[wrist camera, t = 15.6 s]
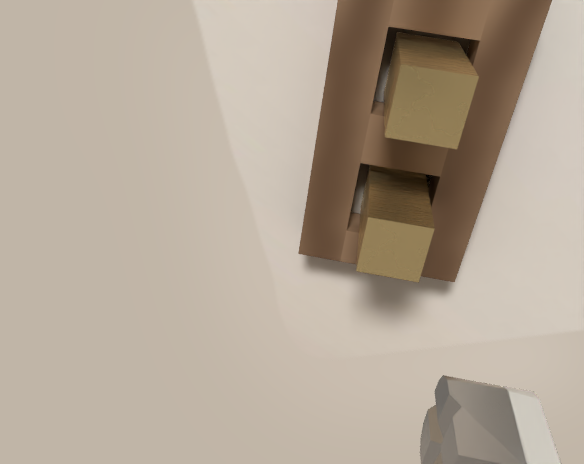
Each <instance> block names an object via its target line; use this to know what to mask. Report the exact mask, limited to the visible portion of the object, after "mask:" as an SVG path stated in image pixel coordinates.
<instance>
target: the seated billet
mask: <svg viewBox="0 0 584 464" xmlns="http://www.w3.org/2000/svg"><path fill="white" fill-rule="evenodd" d="M478 78H479V76H478V74H477V73H476V71H475V69H474V68H473V66H472V64H471V63H470V61H469V59H468V58H467V56H466V54H465V52H464V51H463V49H462V47H461V46H460V44H459V42H458V41H452V40H445V39H439V38H433V37H426V36H420V35H414V34H407V33H401V32H397V34H396V38H395V43H394V48H393V52H392V57H391V62H390V66H389V71H388V76H387V80H386V85H385V90H384V123H385V137H387V138H393V139H399V140H405V141H411V142H417V143H422V144H428V145H434V146H440V147H446V148H452V149H457V148H458V145H459V141H460V138H461V135H462V131H463V128H464V125H465V121H466V118H467V115H468V111H469V108H470V105H471V102H472V98H473V95H474V92H475V88H476V85H477V82H478Z"/></svg>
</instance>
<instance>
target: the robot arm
mask: <svg viewBox="0 0 584 464" xmlns="http://www.w3.org/2000/svg"><path fill="white" fill-rule="evenodd" d="M435 398H436V405H435V406H433V407H431V408H430V409H428V411H427V414H426V417H425V420H424V423H423V429H422V434H421V446H420V456H421V464H561V461H560V459H559V456H558V452H557V449H556V447H555V444H554V441H553V438H552V435H551V432H550V429H549V426H548V423H547V420H546V417H545V414H544V411H543V408H542V405H541V402H540V399H539V397H538V396H537V394H536V393H535V392H533V391H527V390H522V389H516V388H510V387H504V386H503V387H501V386H497V385H492V384H487V383H481V382H476V381H470V380H465V379H460V378H454V377H449V376H444V375H443V376H442V377H441V379H440V380H439V382H438V384H437V387H436V389H435Z"/></svg>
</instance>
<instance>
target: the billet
mask: <svg viewBox="0 0 584 464" xmlns="http://www.w3.org/2000/svg"><path fill="white" fill-rule="evenodd" d="M434 229H435V228H434V222H433V216H432V210H431V204H430V198H429V192H428V186H427V180H426V174H422V173H416V172H410V171H405V170H399V169H393V168H387V167H381V166H376V165H369V170H368V175H367V180H366V184H365V189H364V194H363V199H362V203H361V211H360V225H359V239H358V253H357V267H356V271H358V272H364V273H369V274H375V275H381V276H386V277H392V278H397V279H403V280H408V281H414V282H419V279H420V276H421V273H422V269H423V266H424V263H425V259H426V256H427V253H428V249H429V246H430V243H431V239H432V236H433V233H434Z"/></svg>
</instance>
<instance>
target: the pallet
mask: <svg viewBox="0 0 584 464" xmlns="http://www.w3.org/2000/svg"><path fill="white" fill-rule="evenodd" d="M551 2H552V0H338V3H337V10H336V16H335V22H334V29H333V35H332V42H331V48H330V55H329V61H328V67H327V74H326V80H325V87H324V93H323V99H322V106H321V112H320V119H319V125H318V132H317V138H316V144H315V151H314V157H313V164H312V170H311V176H310V183H309V189H308V196H307V202H306V209H305V215H304V221H303V228H302V234H301V241H300V247H299V254H303V255H309V256H314V257H320V258H325V259H330V260H336V261H341V262H347V263H352V264H357V253H358V239H359V225H360V214H358V213H352V212H350V211H351V206H352V201H353V197H354V192H355V187H356V182H357V177H358V172H359V167H360V163H364V164H370V165H376V166H381V167H387V168H393V169H399V170H405V171H410V172H416V173H422V174H428V175H432V177H431V181H430V184H429V188H428V192H429V198H430V204H431V210H432V216H433V222H434V228H435V229H434V233H433V236H432V239H431V243H430V246H429V249H428V253H427V256H426V259H425V263H424V266H423V269H422V273H421V276H423V277H429V278H434V279H440V280H445V281H450V282H455V279H456V276H457V273H458V271H459V268H460V265H461V262H462V259H463V256H464V253H465V250H466V247H467V245H468V242H469V239H470V236H471V233H472V230H473V227H474V224H475V221H476V219H477V216H478V213H479V210H480V207H481V204H482V201H483V198H484V195H485V193H486V190H487V187H488V184H489V181H490V178H491V175H492V172H493V169H494V167H495V164H496V161H497V158H498V155H499V152H500V149H501V146H502V143H503V141H504V138H505V135H506V132H507V129H508V126H509V123H510V120H511V117H512V115H513V112H514V109H515V106H516V103H517V100H518V97H519V94H520V91H521V89H522V86H523V83H524V80H525V77H526V74H527V71H528V68H529V65H530V63H531V60H532V57H533V54H534V51H535V48H536V45H537V42H538V39H539V37H540V34H541V31H542V28H543V25H544V22H545V19H546V16H547V13H548V11H549V8H550V5H551ZM388 26H389V27H396V28H402V29H409V30H415V31H421V32H428V33H434V34H440V35H447V36H453V37H460V38H466V39H471V40H470V43H469V47H468V50H467V54H466V56H467V58H468V59H469V61H470V63H471V64H472V66H473V68H474V69H475V71H476V73H477V74H478V76H479V78H478V82H477V85H476V88H475V92H474V95H473V98H472V102H471V105H470V108H469V111H468V115H467V118H466V121H465V125H464V128H463V131H462V135H461V138H460V141H459V145H458V148H457V149H452V148H446V147H440V146H434V145H428V144H422V143H417V142H411V141H405V140H399V139H393V138H387V137H385V123H384V103H383V102H377V101H373V99H374V94H375V90H376V85H377V80H378V75H379V70H380V65H381V60H382V55H383V51H384V46H385V41H386V36H387V31H388Z"/></svg>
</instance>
